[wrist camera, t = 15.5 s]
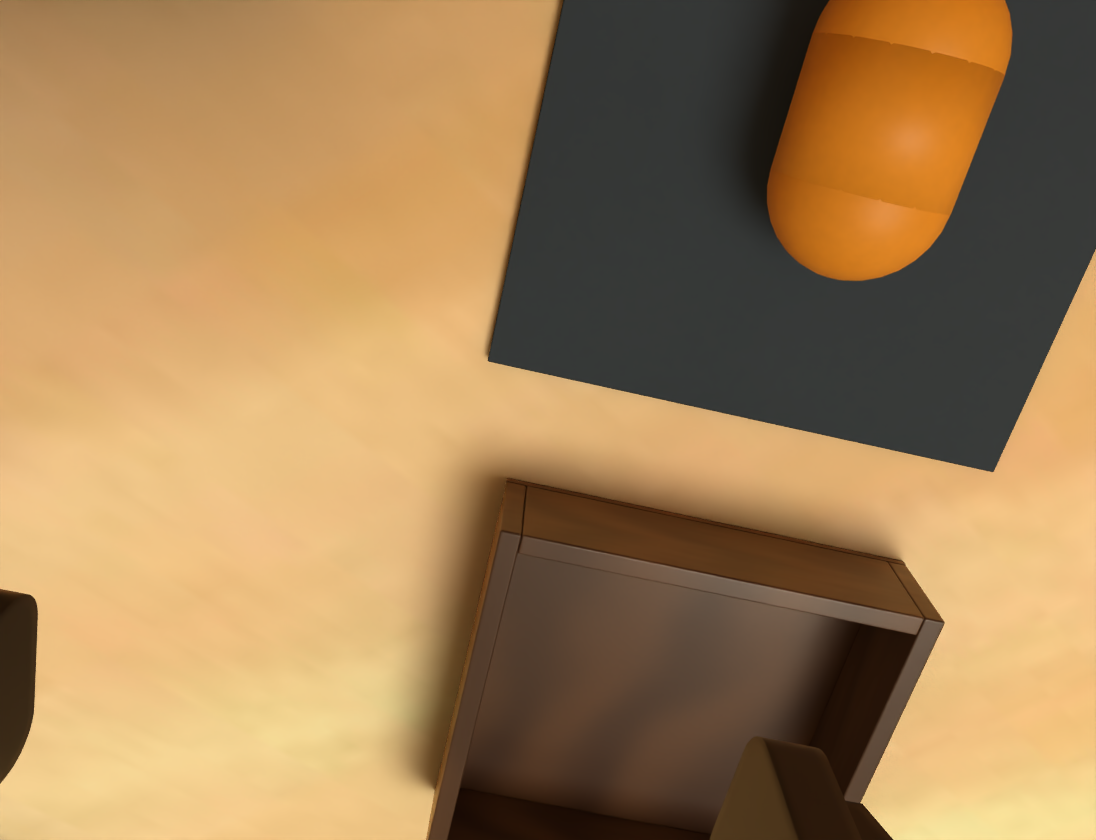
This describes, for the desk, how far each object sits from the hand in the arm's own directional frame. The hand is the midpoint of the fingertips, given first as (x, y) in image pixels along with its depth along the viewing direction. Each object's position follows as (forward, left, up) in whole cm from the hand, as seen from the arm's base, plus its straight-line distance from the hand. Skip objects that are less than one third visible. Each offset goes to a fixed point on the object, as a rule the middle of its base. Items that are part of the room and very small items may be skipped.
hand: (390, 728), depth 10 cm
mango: (+10, +8, -23) cm, 27 cm away
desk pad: (+10, +8, -24) cm, 27 cm away
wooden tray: (+10, -16, -24) cm, 31 cm away
